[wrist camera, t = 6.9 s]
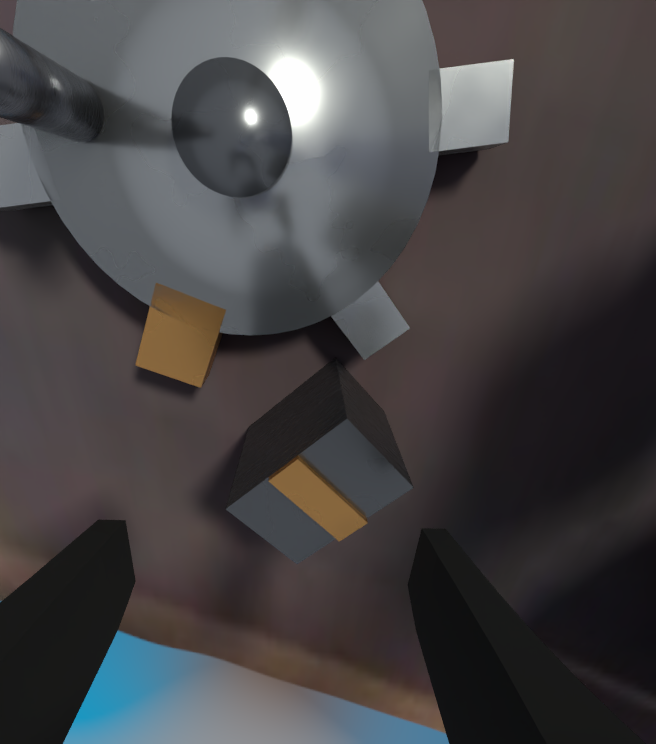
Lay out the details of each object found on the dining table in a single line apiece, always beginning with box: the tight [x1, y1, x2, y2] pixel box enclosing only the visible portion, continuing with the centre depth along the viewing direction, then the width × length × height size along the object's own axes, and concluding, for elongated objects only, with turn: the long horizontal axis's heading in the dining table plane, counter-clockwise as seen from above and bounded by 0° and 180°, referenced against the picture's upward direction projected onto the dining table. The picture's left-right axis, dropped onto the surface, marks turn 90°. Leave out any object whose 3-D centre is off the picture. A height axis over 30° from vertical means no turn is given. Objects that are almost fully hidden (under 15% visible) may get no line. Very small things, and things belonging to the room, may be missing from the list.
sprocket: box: [0, 0, 514, 388], centre depth 10 cm, size 16×16×5 cm
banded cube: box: [226, 358, 414, 564], centre depth 14 cm, size 3×5×5 cm
